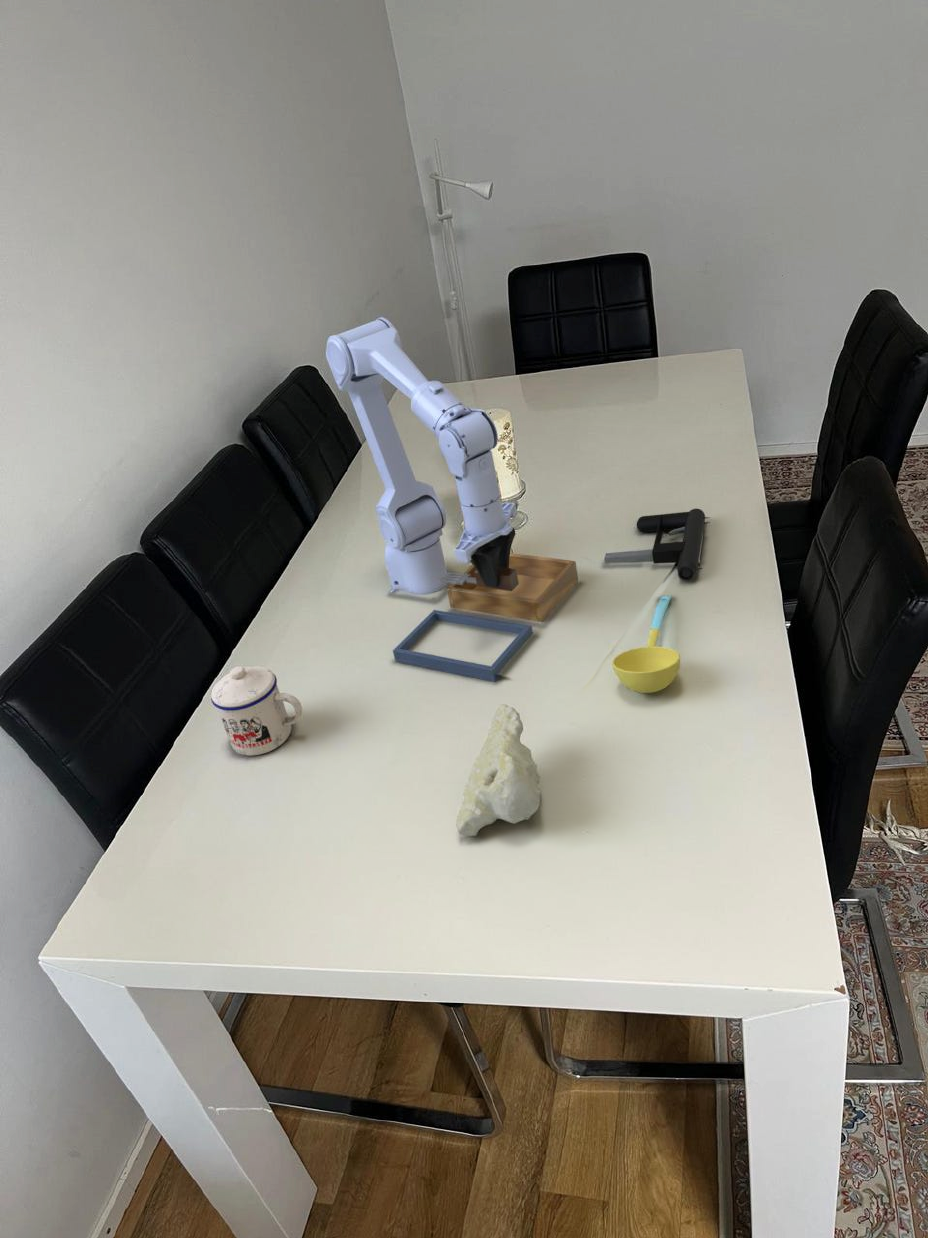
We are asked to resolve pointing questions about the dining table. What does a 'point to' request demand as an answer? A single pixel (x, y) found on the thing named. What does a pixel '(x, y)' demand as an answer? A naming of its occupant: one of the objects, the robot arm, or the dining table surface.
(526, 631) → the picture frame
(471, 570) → the wooden box
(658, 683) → the ladle
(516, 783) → the white rock
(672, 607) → the dining table surface
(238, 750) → the teacup with lid
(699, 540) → the submachine gun
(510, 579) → the fork
